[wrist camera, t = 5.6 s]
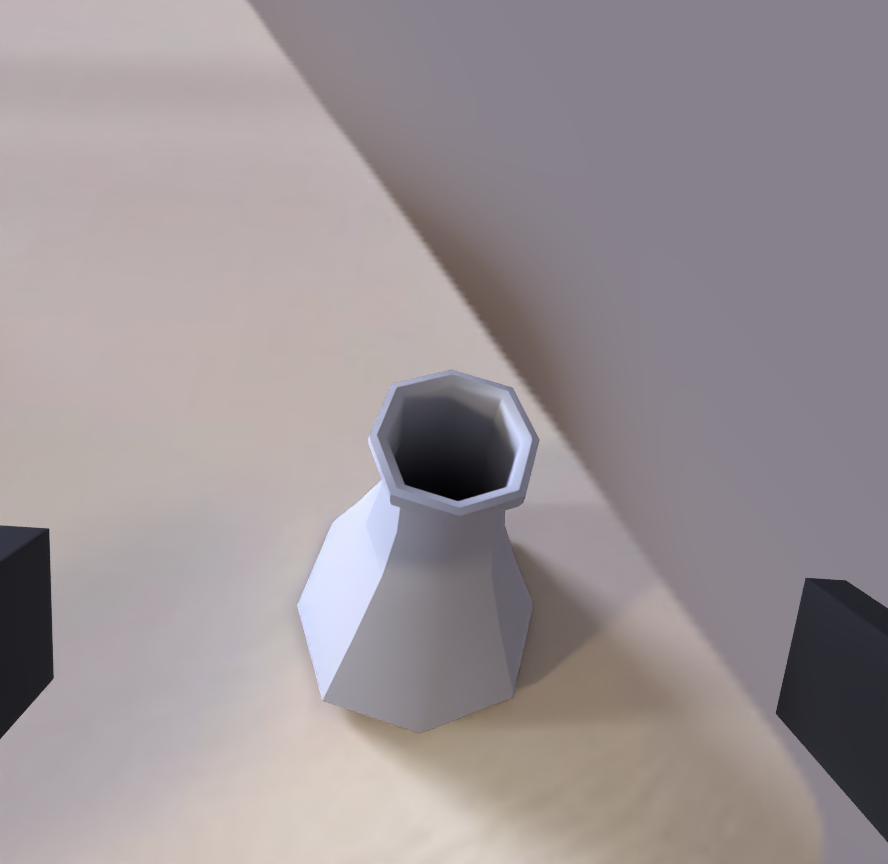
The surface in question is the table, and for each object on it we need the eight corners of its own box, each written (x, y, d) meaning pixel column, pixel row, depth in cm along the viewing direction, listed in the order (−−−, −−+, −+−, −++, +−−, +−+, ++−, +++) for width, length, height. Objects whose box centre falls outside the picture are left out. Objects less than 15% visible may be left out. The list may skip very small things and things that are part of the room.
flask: (520, 504, 23) (611, 301, 15) (545, 732, 19) (687, 631, 11) (306, 501, 22) (274, 285, 14) (287, 737, 19) (228, 634, 10)
